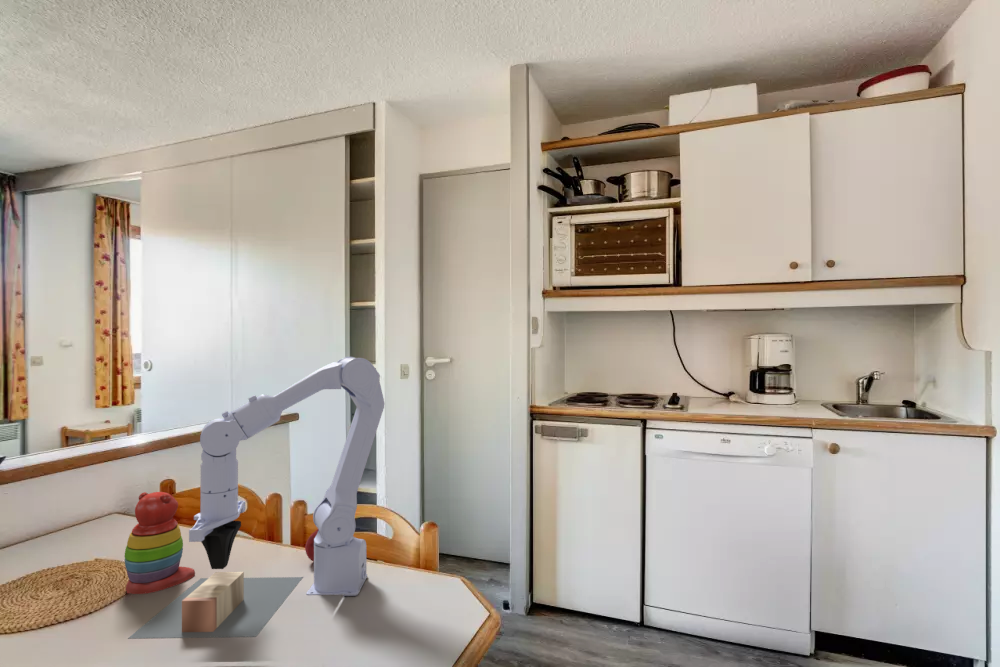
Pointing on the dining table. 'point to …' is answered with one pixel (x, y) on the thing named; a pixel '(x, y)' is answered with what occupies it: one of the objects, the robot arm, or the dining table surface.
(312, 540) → the onion
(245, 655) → the dining table surface
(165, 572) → the stacking bear
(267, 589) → the slate mat
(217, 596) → the beech block
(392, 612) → the dining table surface
